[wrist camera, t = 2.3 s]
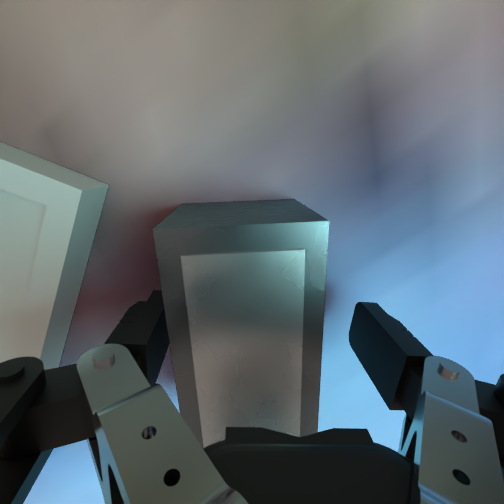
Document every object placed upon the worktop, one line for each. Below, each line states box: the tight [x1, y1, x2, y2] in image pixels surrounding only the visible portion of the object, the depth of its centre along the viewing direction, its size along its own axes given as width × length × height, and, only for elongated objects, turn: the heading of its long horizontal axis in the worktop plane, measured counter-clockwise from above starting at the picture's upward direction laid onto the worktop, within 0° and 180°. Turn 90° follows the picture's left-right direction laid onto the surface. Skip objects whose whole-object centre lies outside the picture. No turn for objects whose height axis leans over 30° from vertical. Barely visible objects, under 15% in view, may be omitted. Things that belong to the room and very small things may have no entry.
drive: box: [153, 199, 329, 448], centre depth 12 cm, size 10×5×5 cm, turn 2°
